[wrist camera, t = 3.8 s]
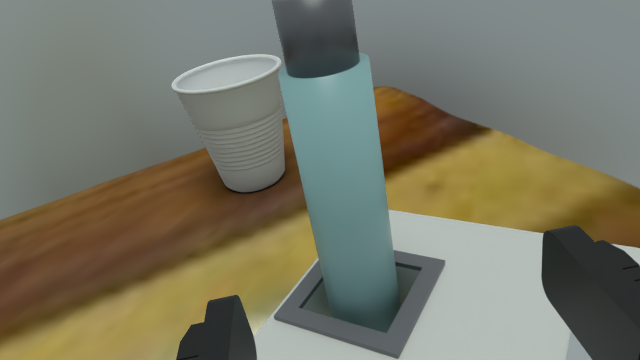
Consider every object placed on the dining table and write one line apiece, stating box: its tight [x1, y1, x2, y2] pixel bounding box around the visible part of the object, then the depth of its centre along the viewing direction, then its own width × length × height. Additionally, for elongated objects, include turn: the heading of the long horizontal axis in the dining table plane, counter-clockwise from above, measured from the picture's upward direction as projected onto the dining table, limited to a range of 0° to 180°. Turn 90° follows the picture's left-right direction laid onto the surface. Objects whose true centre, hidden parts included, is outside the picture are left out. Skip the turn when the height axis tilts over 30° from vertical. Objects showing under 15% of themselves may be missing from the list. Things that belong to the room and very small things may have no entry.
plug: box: [272, 0, 401, 333], centre depth 24 cm, size 4×4×19 cm
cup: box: [172, 54, 285, 192], centre depth 46 cm, size 10×10×11 cm
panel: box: [254, 210, 640, 360], centre depth 24 cm, size 16×22×4 cm
